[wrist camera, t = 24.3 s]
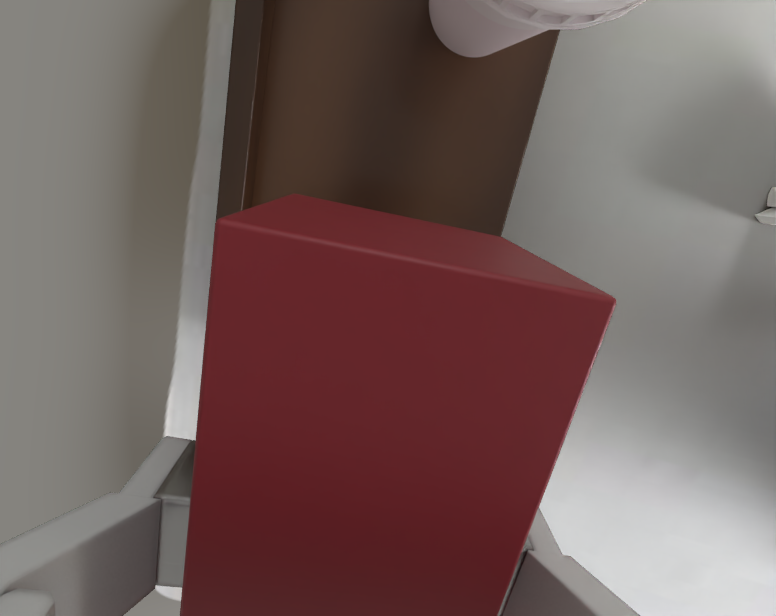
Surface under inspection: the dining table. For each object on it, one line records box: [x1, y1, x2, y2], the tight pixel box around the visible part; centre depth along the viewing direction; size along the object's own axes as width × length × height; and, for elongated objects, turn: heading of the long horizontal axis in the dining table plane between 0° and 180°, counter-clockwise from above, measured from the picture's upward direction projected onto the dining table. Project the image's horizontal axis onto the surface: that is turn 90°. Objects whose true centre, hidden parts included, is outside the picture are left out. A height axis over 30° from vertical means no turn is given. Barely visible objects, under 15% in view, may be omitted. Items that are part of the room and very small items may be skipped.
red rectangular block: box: [180, 194, 616, 616], centre depth 8 cm, size 4×11×4 cm, turn 168°
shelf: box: [216, 0, 560, 237], centre depth 22 cm, size 12×27×12 cm, turn 168°
